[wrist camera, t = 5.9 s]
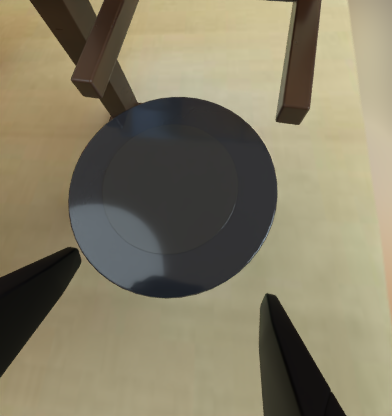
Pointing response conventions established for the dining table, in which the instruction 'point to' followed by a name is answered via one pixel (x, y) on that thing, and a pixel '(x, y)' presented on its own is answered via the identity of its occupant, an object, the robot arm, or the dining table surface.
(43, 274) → the robot arm
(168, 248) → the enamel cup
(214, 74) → the dining table surface
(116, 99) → the cup rack
